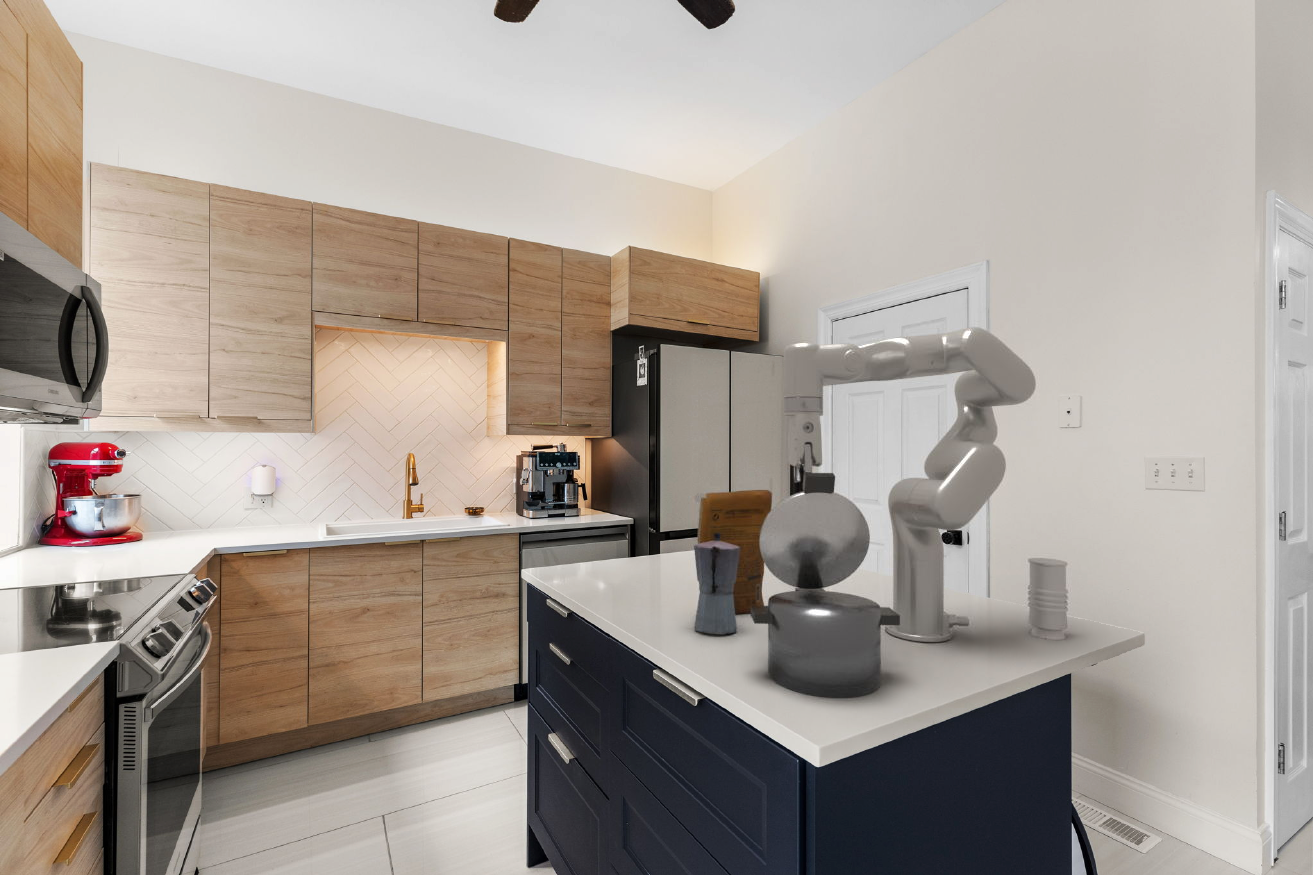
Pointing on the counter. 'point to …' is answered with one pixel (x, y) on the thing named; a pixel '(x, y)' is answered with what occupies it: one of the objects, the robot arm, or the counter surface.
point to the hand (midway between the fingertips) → (802, 502)
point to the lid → (814, 536)
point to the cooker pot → (824, 641)
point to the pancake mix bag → (739, 537)
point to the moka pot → (716, 586)
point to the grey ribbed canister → (1047, 598)
